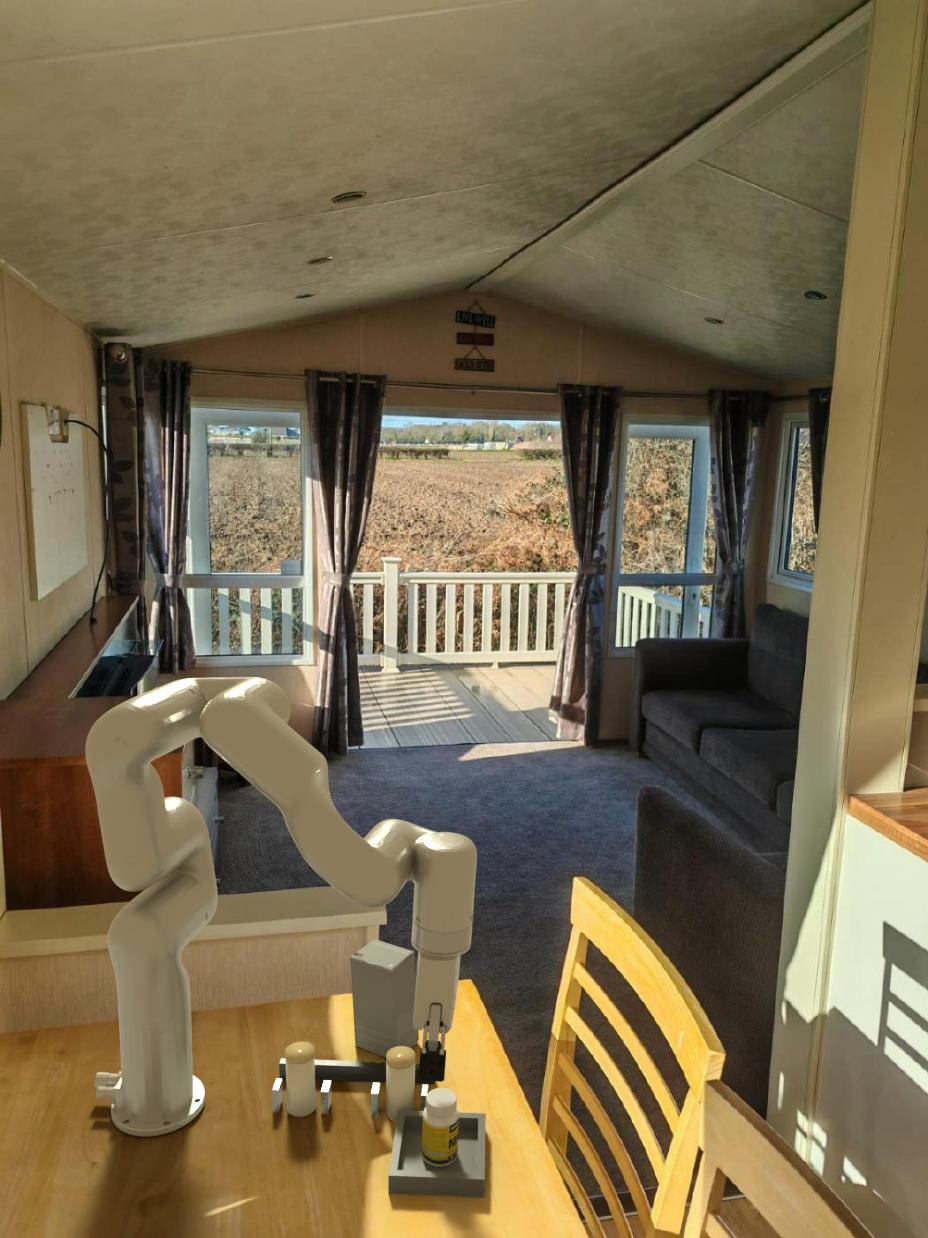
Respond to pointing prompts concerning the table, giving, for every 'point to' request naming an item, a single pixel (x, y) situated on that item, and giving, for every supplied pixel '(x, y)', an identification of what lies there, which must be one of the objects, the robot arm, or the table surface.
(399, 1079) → the cylinder
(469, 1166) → the tray
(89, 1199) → the table surface
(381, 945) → the skincare box
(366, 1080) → the clip rail
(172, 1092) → the robot arm
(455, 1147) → the supplement bottle
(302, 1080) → the ball
